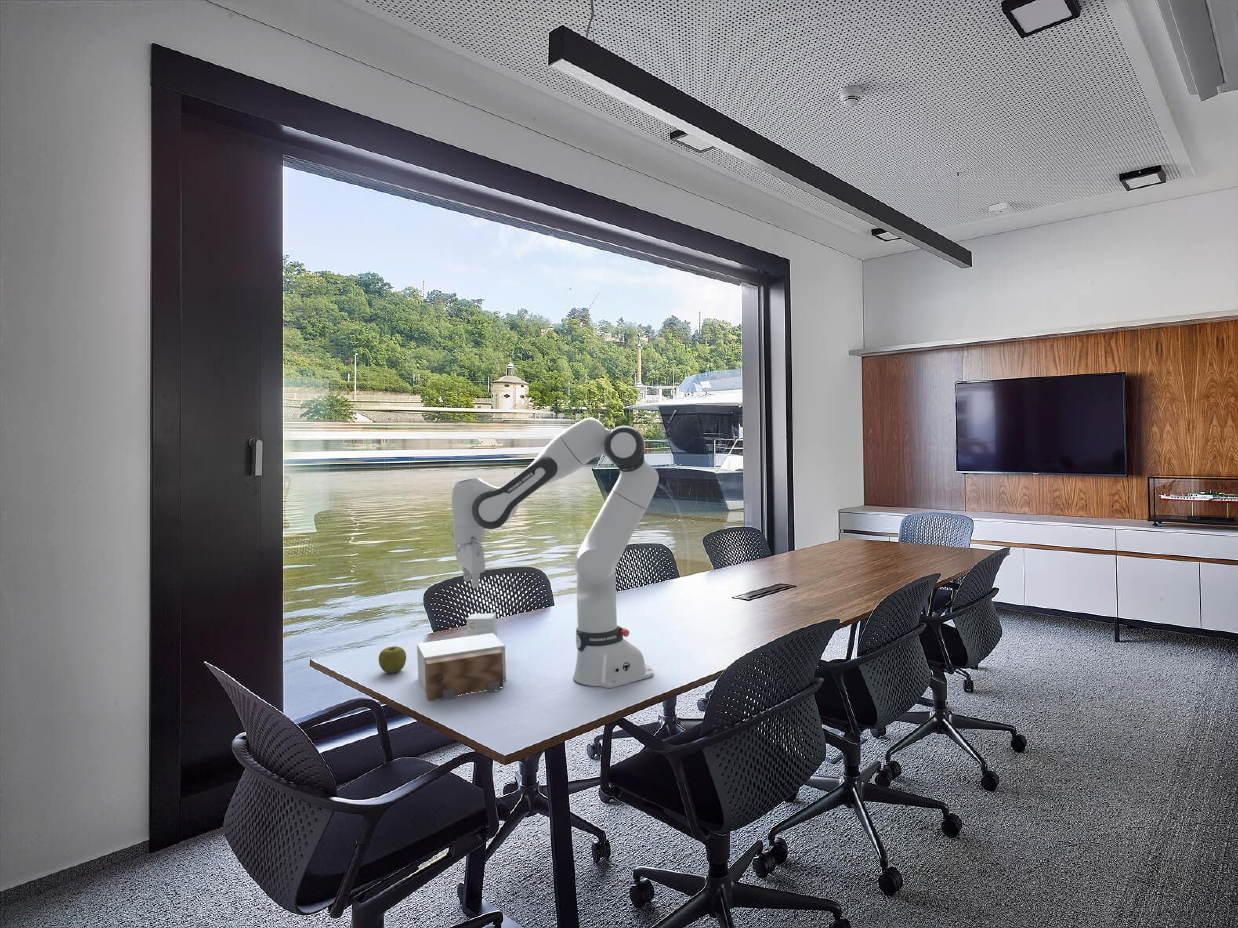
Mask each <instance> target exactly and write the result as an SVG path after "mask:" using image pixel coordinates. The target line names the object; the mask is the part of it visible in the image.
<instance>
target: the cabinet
mask: <svg viewBox="0 0 1238 928" xmlns="http://www.w3.org/2000/svg"><path fill="white" fill-rule="evenodd" d="M498 649H499V650H500V651H501V652H502V664H503V680H506V681H507V670H506V645H505V644H504V643H503V642H502V641H501V639H499V638H498V636H497V637H496V636H495V635H494V633H489V634H482V635H475V636H463V637H462V636H461V637H455V638H447V639H441V640H434V641H426V642H420V643H419V642H418V643H416V653H417V675H418V677H417V679H418V680H419V682H421V683H420V685H421V688H422V689H423V691H424V693H426V669H425V661H427V660H433V659H440V658H446V657H453V656H459V655H465V654H472V653H478V652H485V651H491V650H498ZM495 690H499V691H500V690H501V688H500V685H499V681H494V682H488V691H487V692H488V693H492V692H491V691H494V692H496V691H495ZM452 698H454V699H456V696H455V689H454V688H453V689H447V690H443V699H442V700H443V701H446V700H445V699H448V700H453V699H452Z"/></svg>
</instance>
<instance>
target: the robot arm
mask: <svg viewBox="0 0 1238 928" xmlns="http://www.w3.org/2000/svg"><path fill="white" fill-rule="evenodd" d="M645 450H646V441H645V438H644V436H643V434H642V433H641V432H640V431H639V430H638V429H637V428H635V427H633V426H630V425H619V426H616V427H615V428H612V429H608V428H607V427H605V426H604V424H603V423H602V422H601V421H600V420H598V419H596V418H594V417H586V418H584V419H581V420H580V421H578V422H576V423H574V424H573V425H570V427H567V428H566V429H565V430H563V431H562V432H560V433H559V434H558V435H556V436H555V437H554V438H553V439H552V440H551V441H550V442H549V443H548V444H547V445H546V446H545V447H544V448H543V449H542V450H541V451H540V453H539V454H538V455H537V456H536V458H534V460H533V461H532V462H531V463H530V465H528V466H527V467H526V468H525V469H524V470H523V471H521V472H520V473H519V474H518V475H516V476H515V477H513V478H511V480H509V481H508V482H506V483H505V484H504V485H502V486H501V487H499V486H495V485H493V484H489V483H487V482H485V481H484V480H483V479H481V478H480V477H476V476H475V477H469V478H465V479H461V480H458V481H456V482H455V483H454V484H453V486H452V489H451V490H452V491H451V512H452V514H453V521H452V532H451V537H452V541H453V543H454V549H455V551H454V553H455V557H456V558H455V559H456V561H457V563H458V564H459V565H460V566H461V568H462V574H463V581H464V582H470V581H471V582H470V583H471V585H470V586H471V587H472V588H479V586H480V577H481V573H482V574H483V573H485V570H486V563H485V552H484V546H483V545H482V542H485V541H486V530H487V529H488V530H495V529H498V528H500V527H502V526H503V525H504V524H505V523H506V522H508V521H509V520H510V519H512V517H513V516H515V514H516V512H517V510H518V504H520V503H521V502H523V501H524V500H526V499H527V498H528V497H529V496H530V495H532V494H533V493H535V492H536V491H537V490H538V489H540V488H542V487H543V486H546V485H548V484H551V483H553V482H556V481H558V480H561V479H564V478H566V477H568V476H569V475H570V476H571V474H573V473H575V472H576V471H578V470H579V469H581V468H582V467H584V466H585V465H587V463H589V462H591V461H592V460H593V459H595V458H596V457H598V456H599V457H600V456H606V457H607V458H608V459H609V460H610V461H611V462H612V463H613V464H614V465H615V466H616V467H617V468H618V470H619V476H618V478H617V480H616V482H615V484H614V486H613V487H612V489H611V491H610V492H609V494H608V496H607V498H606V499H605V501H604V503H603V505H602V507H601V508H600V511H599V512H598V513H597V516H596V518H595V520H594V521H593V523H592V525H591V527H590V529H589V531H588V532H587V534H586V536H585V537H584V539H583V540H582V542H581V543H580V544H579V546H578V548H577V551H576V554H575V557H574V562H573V564H574V570H575V572H576V574H577V575H576V618H577V619H576V620H577V627H576V628H575V630H576V631H575V633H576V635H575V643H576V644H575V645H576V649H577V652H576V653H577V654H576V664H575V668H574V673H573V676H572V677H573V681H575V682H576V683H578V684H581V685H585V686H591V687H601V688H602V687H603V688H608V689H609V688H610V689H613V688H617V687H619V686H623V685H626V684H630V683H633V682H637V681H640V680H644V679H648V678H652V677H653V675H654V671H653V669H652V667H650V665H648V664H647V663H645V659H644V656H643V653H642V651H641V650H640V649H638V648H637V646H635V645H633V644H632V643H631V642H629V641H628V640H626V639H625V638H627V637H628V636H629V635H630V633H631V632H630V630H628V629H627V628H626V627H625V628H623V627H621V626H619V625H618V621H617V620H618V619H617V588H616V587H617V585H616V584H617V583H616V582H617V581H616V576H617V575H616V567H617V566H618V563H619V562H620V559H621V558H622V556H623V554H624V552H625V549H626V548H627V546H628V543H629V542H630V540H631V538H632V536H633V534H634V532H635V531H636V528H637V527H638V525H639V523H640V522H641V520H642V518H643V516H644V514H645V513H646V511H647V509H648V508H649V505H650V504H651V502H652V499H653V497H654V495H655V492H656V490H657V487H658V485H659V480H660V479H659V478H660V477H659V473H658V471H657V470H656V469H655V467H654V466H652V465H651V464H650V463H648V462H647V461H646V460H645ZM624 637H625V638H624Z"/></svg>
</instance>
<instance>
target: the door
mask: <svg viewBox="0 0 1238 928" xmlns="http://www.w3.org/2000/svg"><path fill="white" fill-rule="evenodd" d="M425 669H426V694H425V695H426V699H427V701H428V702H432V701H431V700H433V701H436V700H435V699H439V700H443V699H442V698H443V690H447V689H453V688H454V689H455V697H459V696H458V695H461V694H462V695H461V696H464V695H463V694H466V693H471V692H478V693H480V692H479V691H483V692H485V691H484V690H488V682H494V681H499V685H500V687H503V688H504V681H503V664H502V652H501V651H500V650H499V649H498V650H491V651H485V652H478V653H472V654H465V655H459V656H453V657H446V658H440V659H433V660H427V661H425ZM466 695H467V694H466Z"/></svg>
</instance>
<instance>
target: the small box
mask: <svg viewBox="0 0 1238 928" xmlns="http://www.w3.org/2000/svg"><path fill="white" fill-rule="evenodd" d="M497 625H498V624H497V614H496V613H471V614H470V615H469V616H468V617H467V618H466V629H467V630H466V631H467V632H466V633H467V636H466V637H468V636H475V635H482V634H489V633H494V635H495V636H496V637H497V638H498V629H497Z"/></svg>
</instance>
